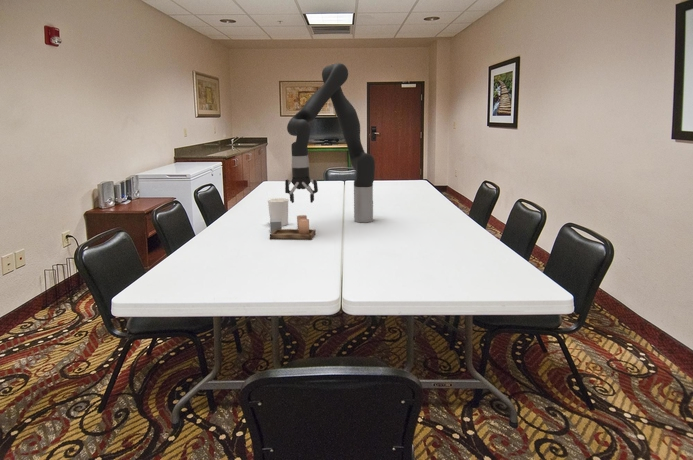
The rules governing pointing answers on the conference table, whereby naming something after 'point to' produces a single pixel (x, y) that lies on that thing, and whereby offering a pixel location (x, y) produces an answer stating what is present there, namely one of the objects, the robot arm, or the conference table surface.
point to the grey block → (275, 224)
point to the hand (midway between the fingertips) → (302, 202)
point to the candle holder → (279, 210)
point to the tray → (291, 234)
